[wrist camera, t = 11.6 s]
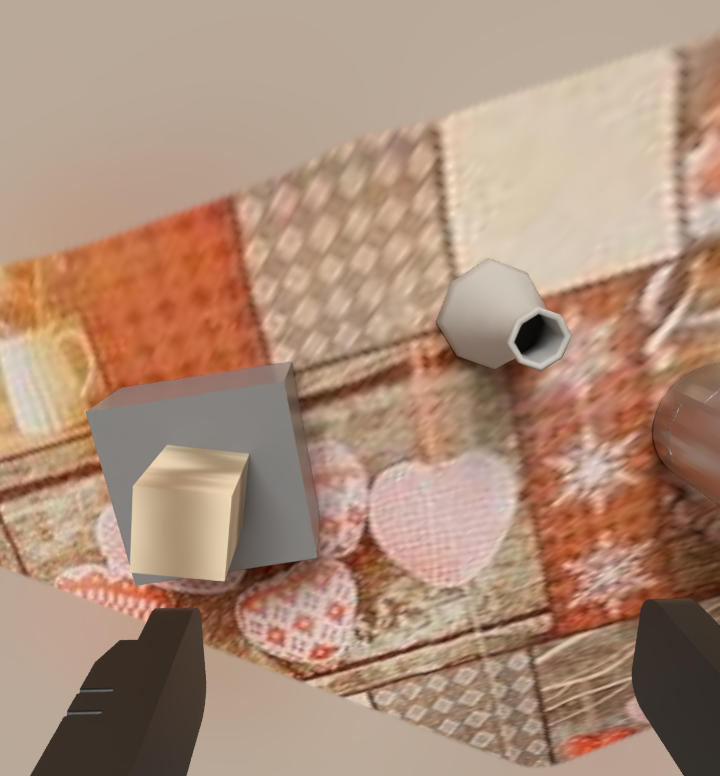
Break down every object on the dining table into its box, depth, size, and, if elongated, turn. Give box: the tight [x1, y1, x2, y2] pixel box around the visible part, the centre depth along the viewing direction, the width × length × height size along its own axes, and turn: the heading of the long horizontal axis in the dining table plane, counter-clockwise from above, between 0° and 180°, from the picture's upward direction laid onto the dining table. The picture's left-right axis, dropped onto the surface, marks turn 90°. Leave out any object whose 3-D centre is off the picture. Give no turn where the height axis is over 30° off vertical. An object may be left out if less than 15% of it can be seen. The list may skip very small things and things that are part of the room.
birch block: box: [130, 445, 249, 581], centre depth 33 cm, size 5×5×6 cm
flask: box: [436, 258, 572, 371], centre depth 34 cm, size 7×7×10 cm
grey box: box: [86, 362, 320, 585], centre depth 39 cm, size 12×12×6 cm
